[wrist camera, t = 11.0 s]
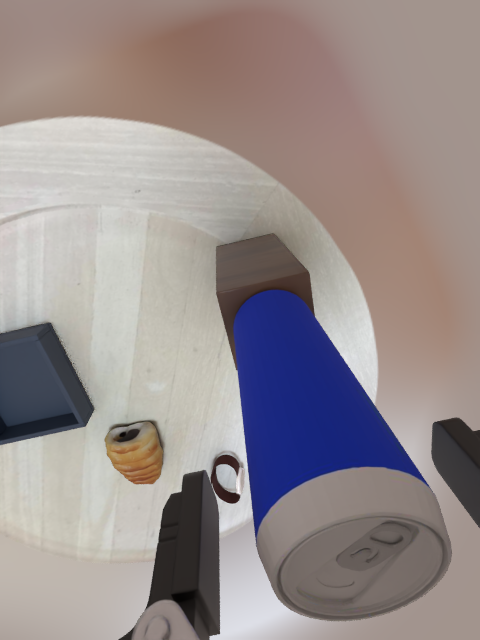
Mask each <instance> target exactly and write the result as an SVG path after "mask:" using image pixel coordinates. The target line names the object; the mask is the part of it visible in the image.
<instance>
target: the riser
mask: <svg viewBox="0 0 480 640" xmlns="http://www.w3.org/2000/svg"><path fill="white" fill-rule="evenodd" d="M268 290H284V291H288V292H291V293H293V294H295V295H297V296H298V297H300V298H301V299H302V300H303V301H304V302H305V303H306V305H307V306H308V307H309V309H310V310H311V312H312V313H313V315H314V316H315V313H314V305H313V298H312V290H311V283H310V275H309V272H308V270H307V269H306V268H305V267H304V266H303V265H302V264H301V263H300V262H299V261H298V260H297V258H296V257H295V256H294V255H293V254H292V253H291V252H290V251H289V250H288V249H287V248H286V246H285V245H284V244H283V243H282V242H281V241H280V240H279V239H278V238H277V237H276V236H275V234H269V235H265V236H260V237H256V238H252V239H247V240H243V241H239V242H234V243H230V244H226V245H222V246H217V247H216V294H217V298H218V302H219V306H220V310H221V313H222V317H223V321H224V325H225V329H226V332H227V336H228V340H229V344H230V348H231V351H232V355H233V359H234V363H235V367H236V370H238V369H237V360H236V351H235V341H234V331H233V326H234V320H235V317H236V314H237V312H238V310H239V309H240V307H241V306H242V305H243V304H244V303H245V302H246V301H247V300H248V299H249V298H251V297H252V296H254V295H256V294H258V293H261V292H264V291H268Z"/></svg>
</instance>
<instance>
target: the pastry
mask: <svg viewBox="0 0 480 640" xmlns="http://www.w3.org/2000/svg"><path fill="white" fill-rule="evenodd" d="M105 443H106V448H107V456H108V457H109V458H110V460H111V462H112V464H113V466H114V468H115V469H117V470H118V471H120V473H121V474H123V475H124V476H125V478H127V479H128V480H129V481H131V482H133V483H134V484H153V483H155V481H156V480H157V479H158V478H159V477H160V475H161V468H162V464H163V460H162V455H163V450H162V448H161V446H160V442H159V438H158V434H157V430H156V428H155V427H154V426H153V424H152V423H150V422H141V423H136V424H133V425H130V426H128V427H118V428H114V429H113V430H111V431H110V432H109V433H108V434H107V436H106V438H105Z"/></svg>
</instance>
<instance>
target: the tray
mask: <svg viewBox="0 0 480 640" xmlns="http://www.w3.org/2000/svg"><path fill="white" fill-rule="evenodd" d="M93 411H94V408H93V406H92V404H91V402H90V400H89V398H88V396H87V394H86V392H85V390H84V388H83V386H82V384H81V382H80V380H79V378H78V376H77V374H76V373H75V371H74V369H73V367H72V365H71V363H70V361H69V359H68V357H67V355H66V353H65V351H64V349H63V347H62V345H61V343H60V341H59V339H58V337H57V335H56V333H55V331H54V329H53V327H52V325H51V323H46V324H41V325H37V326H33V327H28V328H24V329H20V330H15V331H11V332H6V333H2V334H0V445H3V444H7V443H12V442H16V441H21V440H25V439H30V438H35V437H39V436H44V435H48V434H53V433H58V432H62V431H67V430H71V429H76V428H80V427H85V426H86V425H87V423H88V421H89V419H90V417H91V415H92V413H93Z"/></svg>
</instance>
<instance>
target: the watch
mask: <svg viewBox="0 0 480 640" xmlns="http://www.w3.org/2000/svg"><path fill="white" fill-rule="evenodd" d="M220 464H228V465H230V466H231V467H233V468H234V469H235V471H236V474H237V481H236V490H237V491H236V493H231V492H228V491H226V490H225V489H223V488H222V487H221V486H220V484H219V483H218V481H217V477H216V466H218V465H220ZM244 480H245V472H244V468H241V467H240V466H239V463H238V461H237V460H236V459H235V458H234V457H233V456H230V455H222V456H220V457H218V458H217V459H216V461H215V464H214V468H213V471H212V474H211V484H212V483H213V488H214V491H215V493H216V494H217V495H218V497H219V498H220V499H222V500H223V501H225V502H227V503H231V504H233V503H237V502H238V501H239V499H240V495H241V494H242V492H243V488H244Z"/></svg>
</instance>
